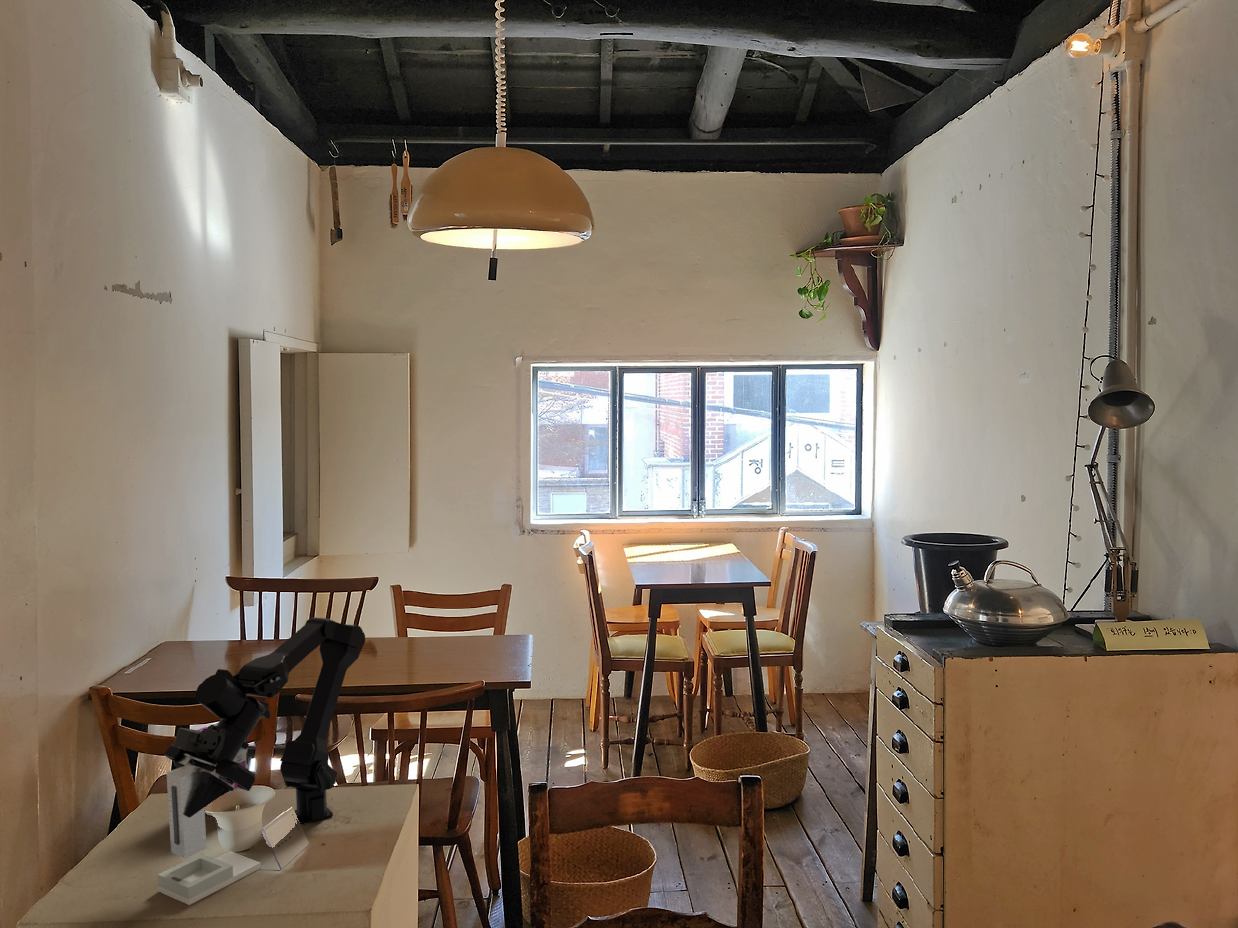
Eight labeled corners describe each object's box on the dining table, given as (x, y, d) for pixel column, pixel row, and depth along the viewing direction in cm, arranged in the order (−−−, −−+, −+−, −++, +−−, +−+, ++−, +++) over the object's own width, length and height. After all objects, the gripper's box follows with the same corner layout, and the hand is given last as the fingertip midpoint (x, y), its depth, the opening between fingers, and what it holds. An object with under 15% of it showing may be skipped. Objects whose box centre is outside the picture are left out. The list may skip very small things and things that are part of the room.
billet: (192, 842, 164) (188, 764, 163) (206, 848, 162) (202, 769, 161) (170, 852, 161) (165, 772, 160) (183, 858, 159) (179, 777, 157)
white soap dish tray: (230, 856, 172) (229, 839, 172) (260, 867, 168) (260, 851, 167) (158, 891, 160) (157, 873, 160) (189, 904, 156) (188, 886, 156)
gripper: (171, 698, 168) (113, 781, 160) (236, 717, 158) (178, 806, 150) (213, 727, 175) (160, 808, 167) (278, 747, 165) (225, 833, 157)
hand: (179, 813), depth 160 cm, fingers closed on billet, 4 cm apart
